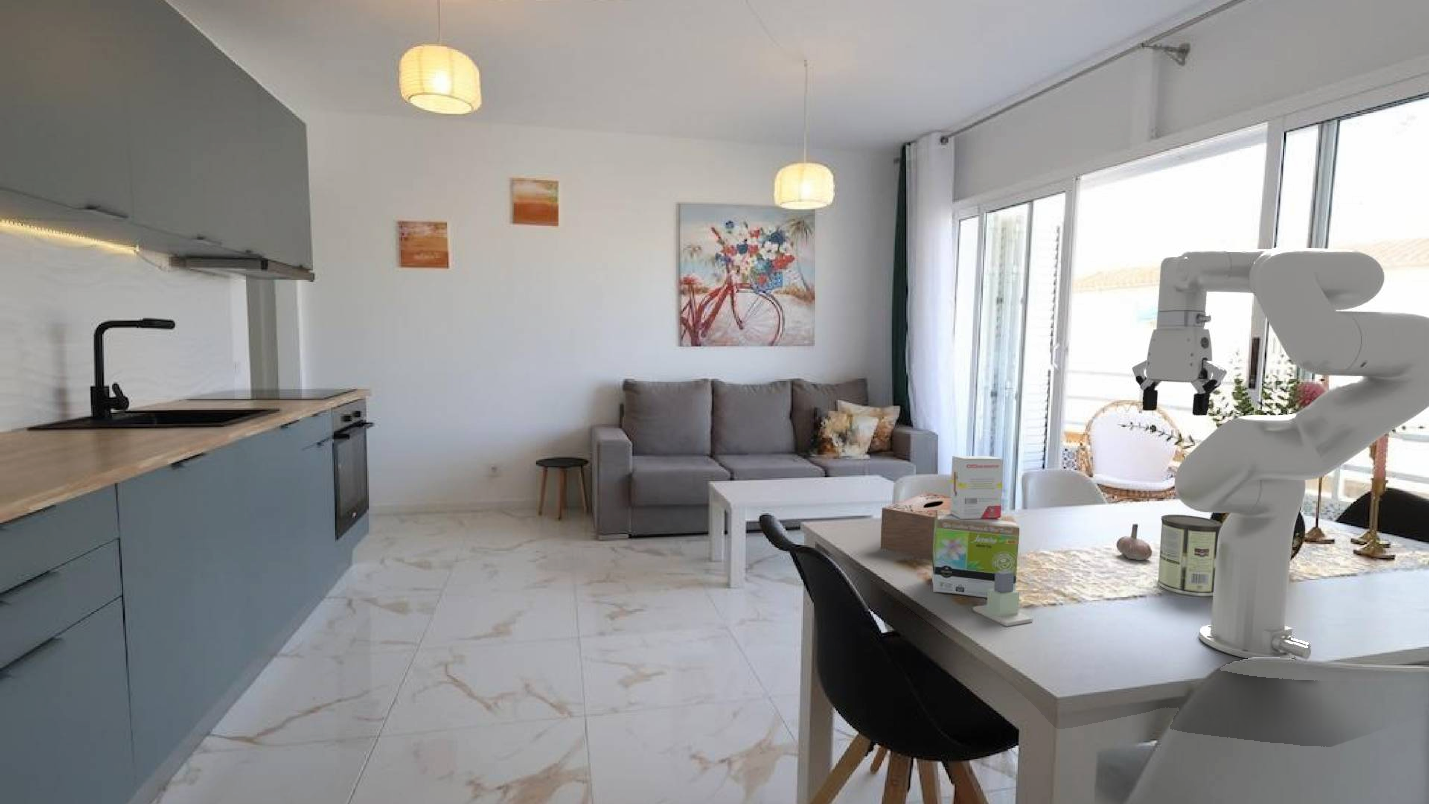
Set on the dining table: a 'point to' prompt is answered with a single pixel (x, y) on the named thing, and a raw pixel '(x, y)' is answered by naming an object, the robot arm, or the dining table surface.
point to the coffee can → (1188, 554)
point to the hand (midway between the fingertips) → (1173, 412)
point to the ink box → (976, 487)
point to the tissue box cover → (912, 524)
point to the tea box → (972, 553)
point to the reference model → (1003, 601)
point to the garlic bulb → (1134, 546)
